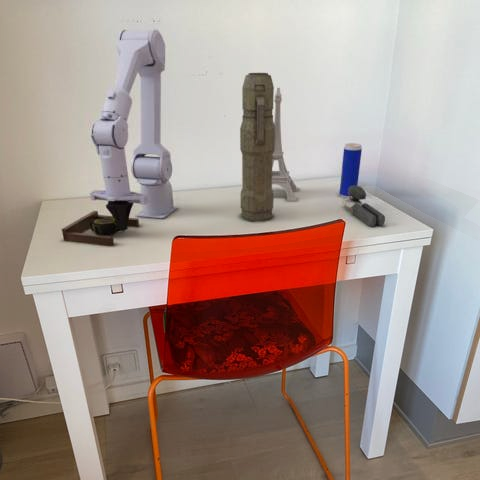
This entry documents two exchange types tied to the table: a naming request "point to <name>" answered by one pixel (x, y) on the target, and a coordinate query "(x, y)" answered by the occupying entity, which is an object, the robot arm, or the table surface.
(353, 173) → the beverage can
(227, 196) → the table surface
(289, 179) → the eiffel tower
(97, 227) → the tape measure
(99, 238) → the walnut frame
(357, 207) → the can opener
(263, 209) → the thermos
